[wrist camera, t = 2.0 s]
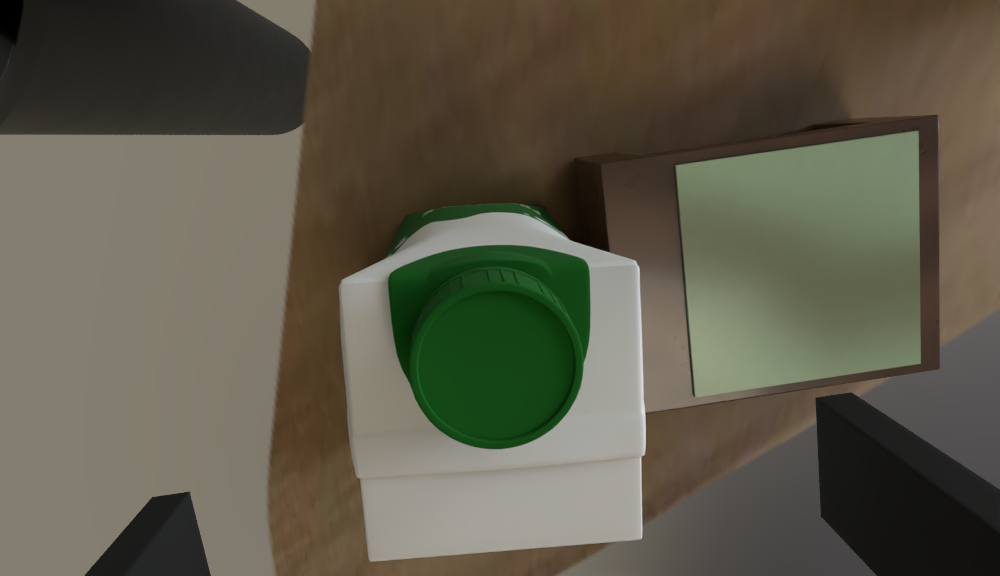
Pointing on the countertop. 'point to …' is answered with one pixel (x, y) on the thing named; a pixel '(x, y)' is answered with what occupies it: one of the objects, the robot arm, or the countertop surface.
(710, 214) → the brown wooden stand
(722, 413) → the countertop surface
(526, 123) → the countertop surface
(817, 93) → the countertop surface
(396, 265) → the milk carton
